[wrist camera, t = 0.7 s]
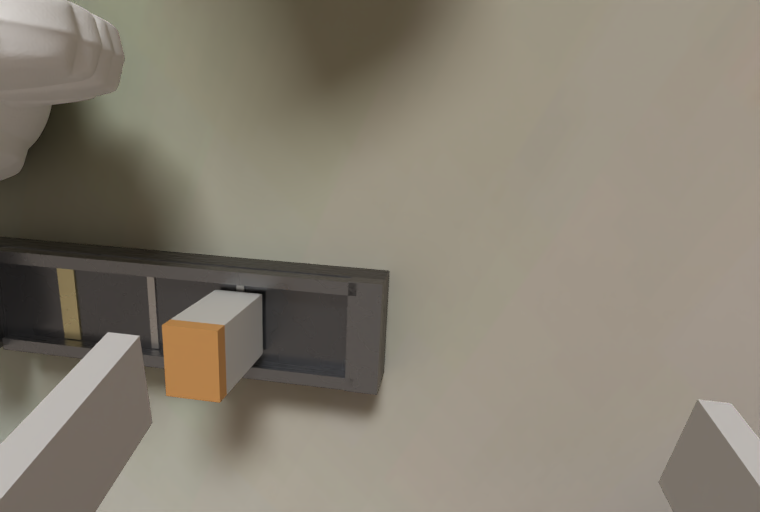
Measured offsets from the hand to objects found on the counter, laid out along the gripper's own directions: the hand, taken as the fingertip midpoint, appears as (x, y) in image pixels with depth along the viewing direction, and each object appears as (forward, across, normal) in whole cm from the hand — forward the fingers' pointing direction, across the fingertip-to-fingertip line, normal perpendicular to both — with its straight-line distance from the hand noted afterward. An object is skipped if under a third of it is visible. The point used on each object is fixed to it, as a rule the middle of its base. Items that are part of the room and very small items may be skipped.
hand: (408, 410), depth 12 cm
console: (+20, +15, +11) cm, 27 cm away
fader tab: (+17, +10, +10) cm, 22 cm away
